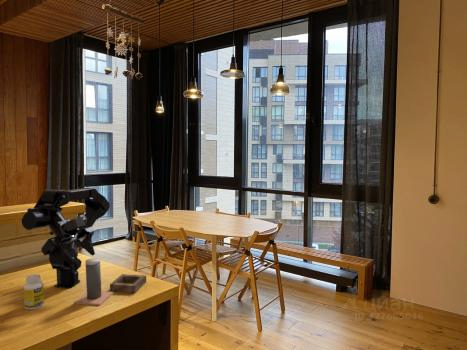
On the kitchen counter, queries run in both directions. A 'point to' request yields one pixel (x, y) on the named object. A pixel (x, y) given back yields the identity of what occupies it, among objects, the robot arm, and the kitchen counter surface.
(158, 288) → the kitchen counter surface
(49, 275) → the kitchen counter surface
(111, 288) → the walnut collar
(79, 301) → the terracotta tile
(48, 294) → the kitchen counter surface
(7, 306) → the kitchen counter surface
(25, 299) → the supplement bottle
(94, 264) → the grey cylinder
